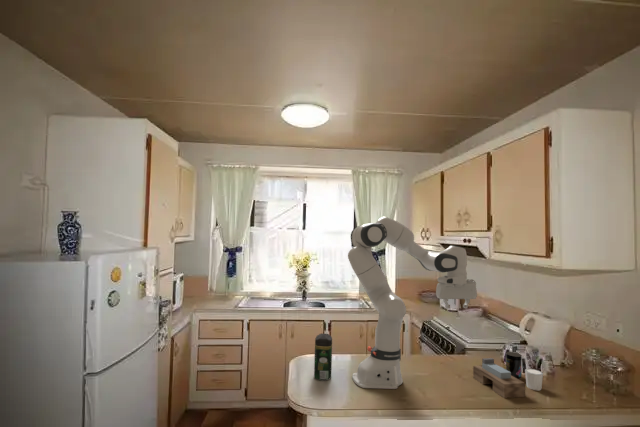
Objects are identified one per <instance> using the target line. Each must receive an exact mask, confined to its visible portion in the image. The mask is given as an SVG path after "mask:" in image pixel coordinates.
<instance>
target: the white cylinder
mask: <svg viewBox="0 0 640 427" xmlns="http://www.w3.org/2000/svg"><path fill="white" fill-rule="evenodd" d="M524 373H525V374H524V375H525V386H526V387H527V388H528V389H530V390H533V391H541V390H542V387H543V378H544V373H543V371H540V370H538V369H533V368H526V369H524Z"/></svg>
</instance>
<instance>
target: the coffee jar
mask: <svg viewBox="0 0 640 427" xmlns="http://www.w3.org/2000/svg"><path fill="white" fill-rule="evenodd" d="M332 358H333V337H332V336H331V335H330V334H329V333H319V334H317V335H316V337H315V339H314V363H313V365H314V366H313V367H314V368H313V369H314V371H313V376H314V379H316V380H319V381H328V380H330V379H331V378H332V368H333V366H332V362H333V361H332V360H333V359H332Z"/></svg>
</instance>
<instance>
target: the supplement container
mask: <svg viewBox="0 0 640 427" xmlns="http://www.w3.org/2000/svg"><path fill="white" fill-rule="evenodd" d="M522 360H523V357H522V354H521V353H518V352H514V351H507V352H505V369H506V370H507V371H509V372H511V376H513V377H515V378H517V379H519V380H521V378H522V373H523V372H522V370H523V369H522V367H523V366H522V364H523V363H522Z"/></svg>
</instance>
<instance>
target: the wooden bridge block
mask: <svg viewBox="0 0 640 427" xmlns="http://www.w3.org/2000/svg"><path fill="white" fill-rule="evenodd" d="M472 369H473V371H472V374H473V376H472V378H473V379H474V380H476V381H477V382H479V383H480V384H482V385H490V384H492V391H493V392H494V393H495V394H497V395H499V396H500V395H501V396H500V397H502V398H504V399H507V397H512V398H521V397H522V398H524V397H526V382H524V381H522V380H521V379H517V378H515V377H513V376H511V378H508V379H500V378H498V377H497V376H495V375H493V374H492V373H490V372H488V371H486V370H485V369H483V368H482V364H481V365H473V368H472Z"/></svg>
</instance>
